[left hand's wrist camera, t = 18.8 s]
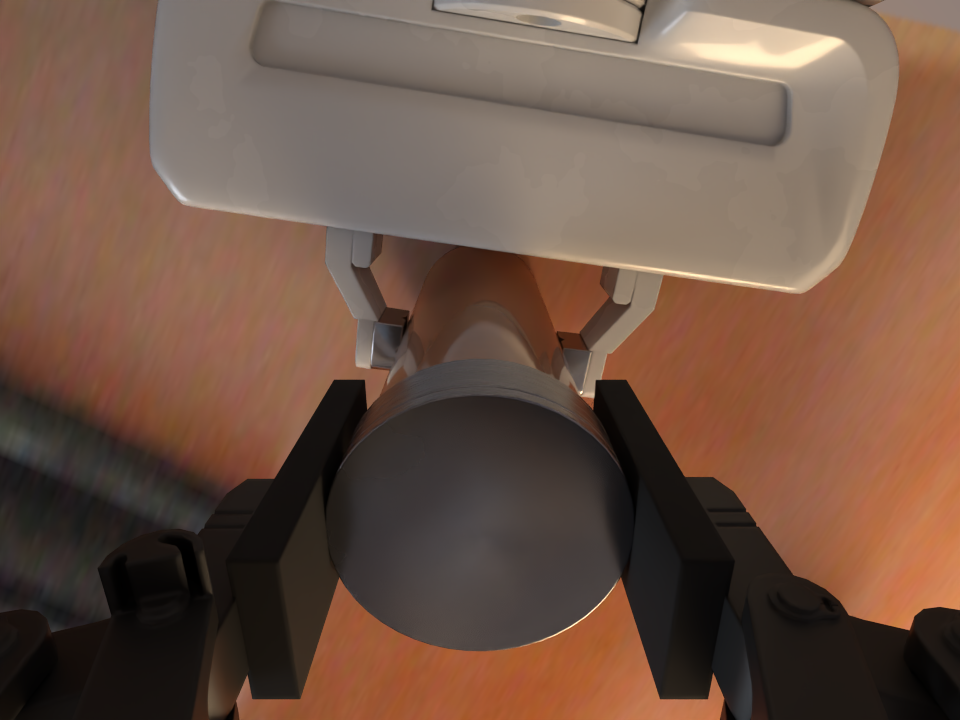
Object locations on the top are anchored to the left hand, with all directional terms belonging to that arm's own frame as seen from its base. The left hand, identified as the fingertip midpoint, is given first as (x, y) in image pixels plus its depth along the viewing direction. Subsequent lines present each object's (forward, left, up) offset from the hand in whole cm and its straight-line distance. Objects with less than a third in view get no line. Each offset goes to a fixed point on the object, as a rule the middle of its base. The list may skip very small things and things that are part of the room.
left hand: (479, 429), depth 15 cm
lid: (0, 0, +4) cm, 4 cm away
